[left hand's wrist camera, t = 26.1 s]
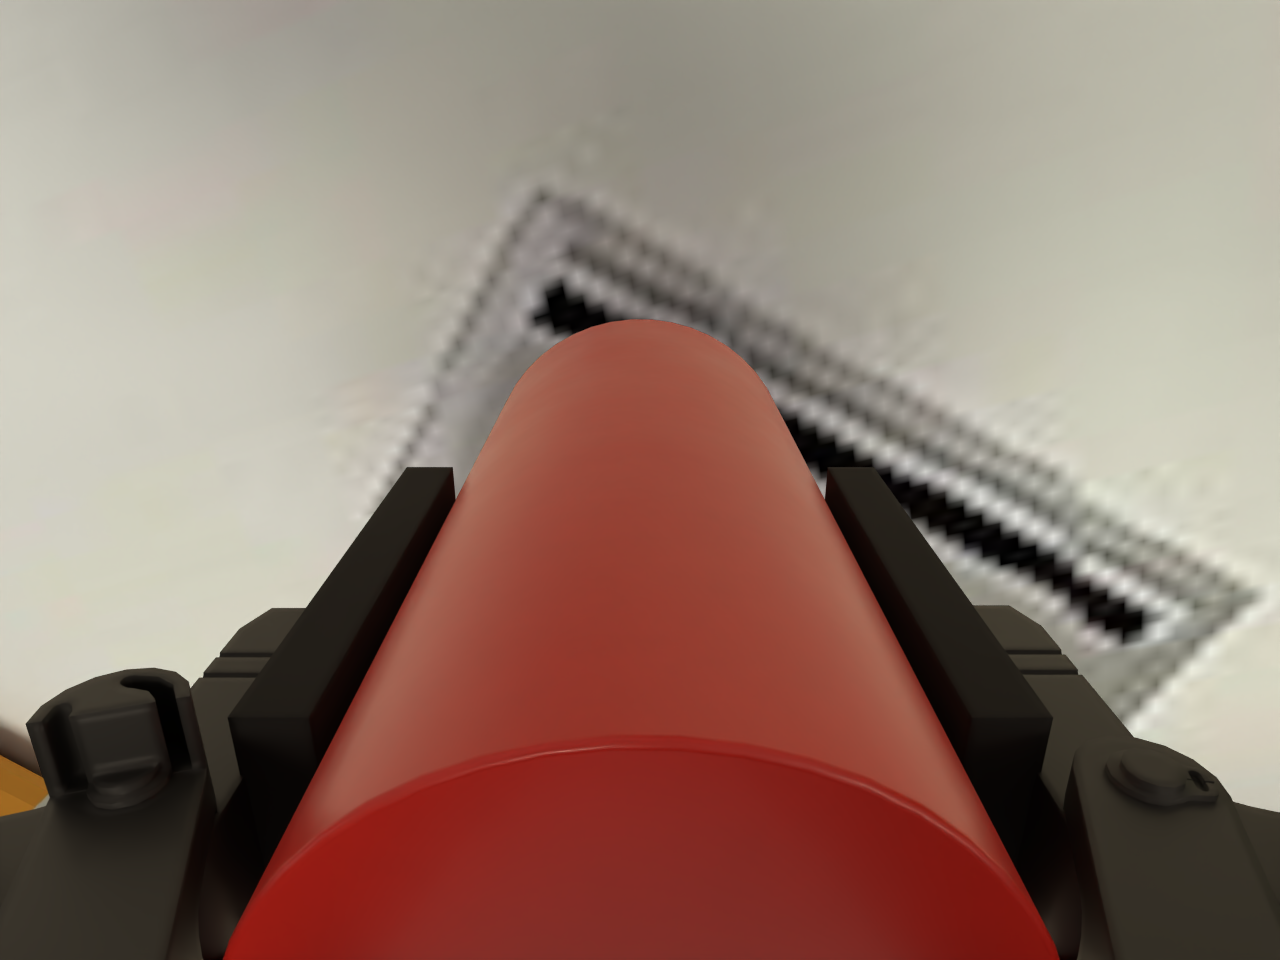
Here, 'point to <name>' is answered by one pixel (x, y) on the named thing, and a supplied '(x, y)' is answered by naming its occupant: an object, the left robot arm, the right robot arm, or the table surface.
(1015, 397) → the table surface
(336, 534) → the table surface
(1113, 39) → the table surface
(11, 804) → the spray gun
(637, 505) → the canister
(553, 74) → the table surface
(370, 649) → the left robot arm
